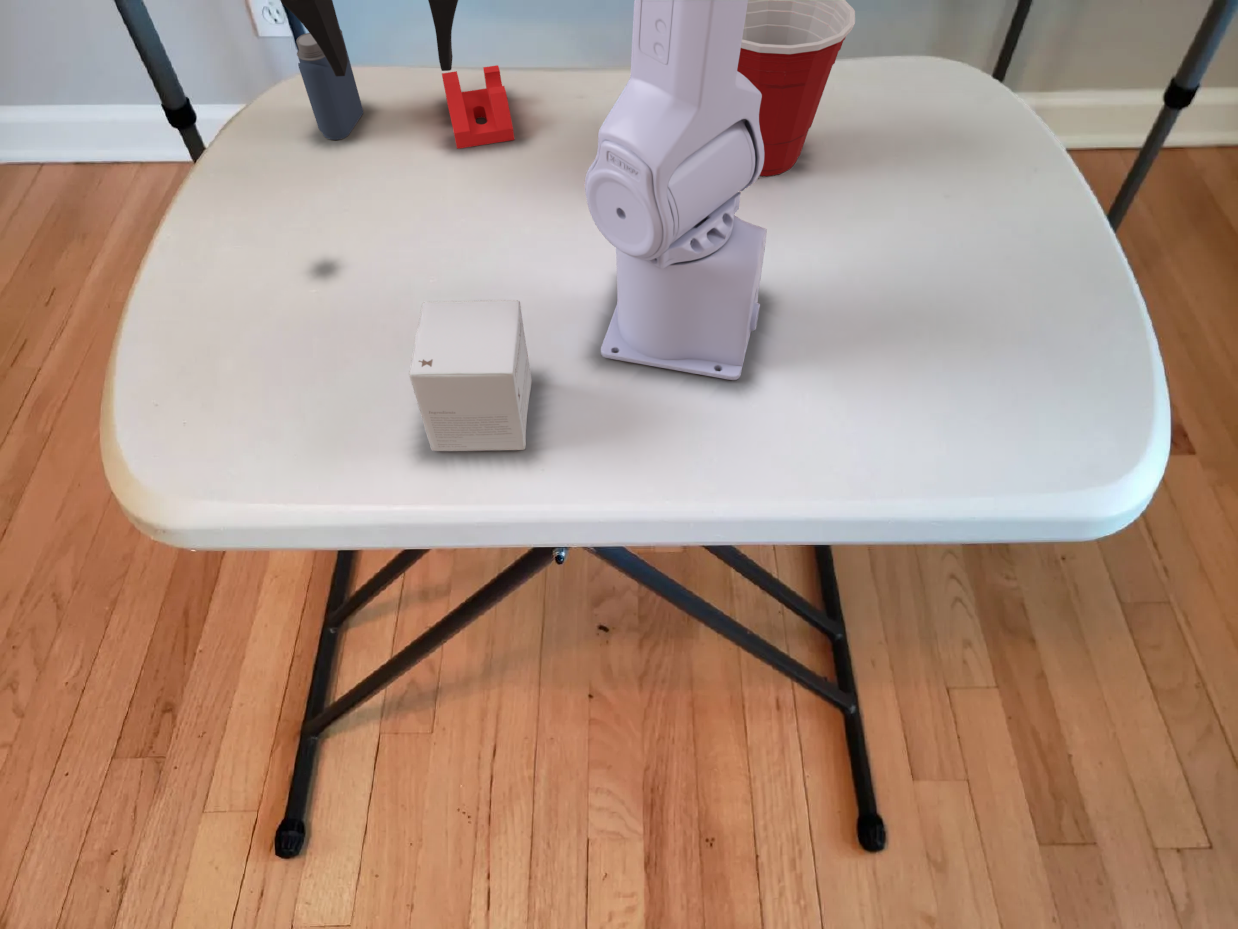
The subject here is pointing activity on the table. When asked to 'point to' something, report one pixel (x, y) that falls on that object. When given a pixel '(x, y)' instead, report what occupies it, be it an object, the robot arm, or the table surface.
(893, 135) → the table surface
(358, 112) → the vaping device
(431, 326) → the product box
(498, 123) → the bracket
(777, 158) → the plastic cup
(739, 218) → the robot arm
